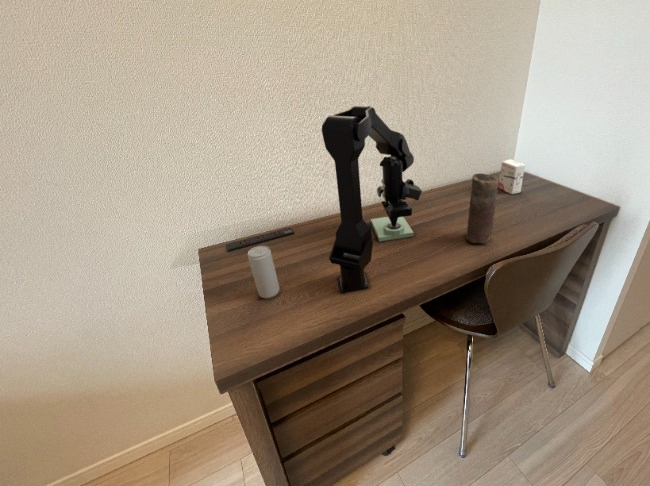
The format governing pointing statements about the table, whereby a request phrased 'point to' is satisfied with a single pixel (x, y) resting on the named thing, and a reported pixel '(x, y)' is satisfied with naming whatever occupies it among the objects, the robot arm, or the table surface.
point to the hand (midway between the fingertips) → (393, 225)
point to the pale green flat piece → (390, 234)
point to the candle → (482, 208)
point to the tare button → (394, 226)
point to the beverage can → (263, 271)
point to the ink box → (511, 176)
